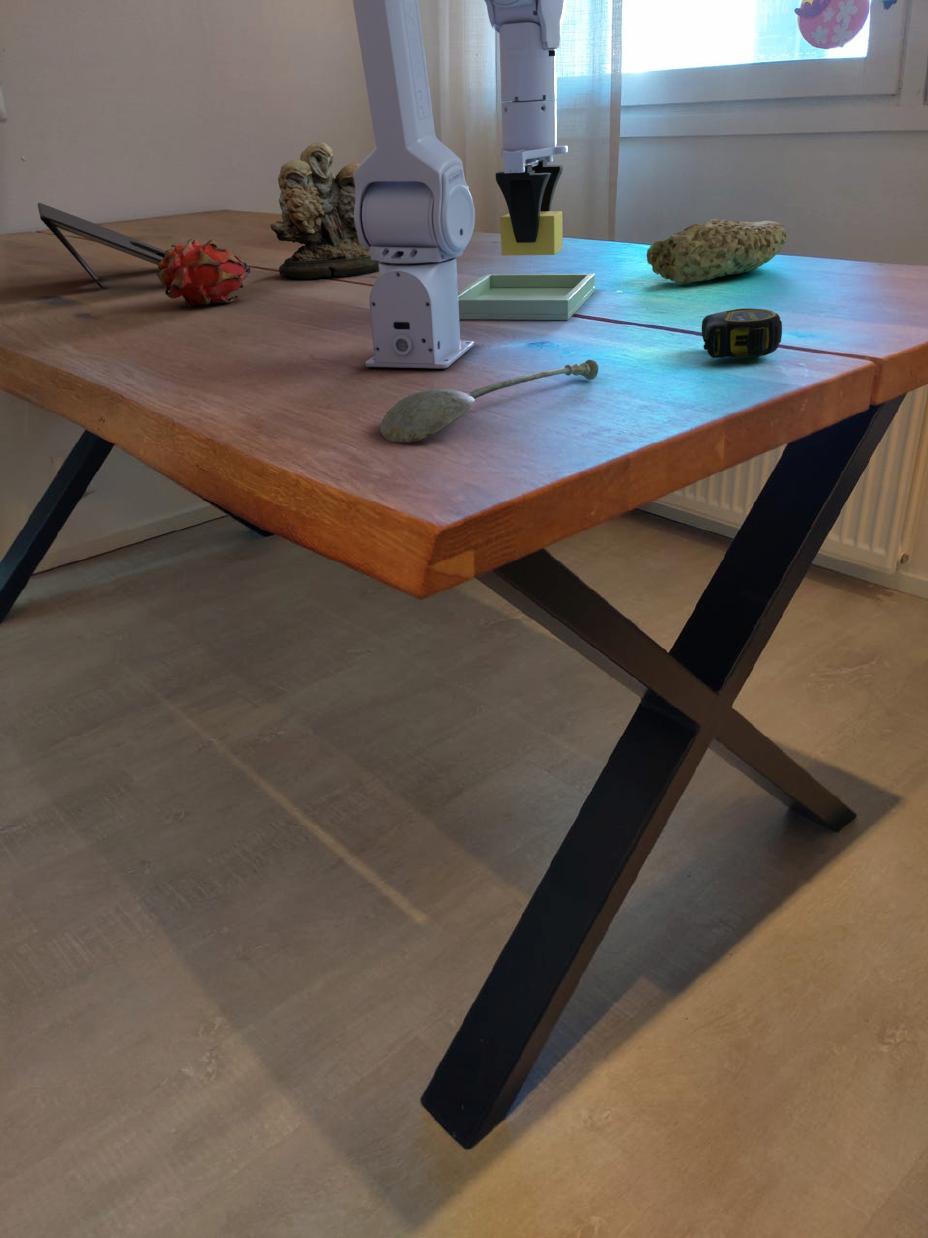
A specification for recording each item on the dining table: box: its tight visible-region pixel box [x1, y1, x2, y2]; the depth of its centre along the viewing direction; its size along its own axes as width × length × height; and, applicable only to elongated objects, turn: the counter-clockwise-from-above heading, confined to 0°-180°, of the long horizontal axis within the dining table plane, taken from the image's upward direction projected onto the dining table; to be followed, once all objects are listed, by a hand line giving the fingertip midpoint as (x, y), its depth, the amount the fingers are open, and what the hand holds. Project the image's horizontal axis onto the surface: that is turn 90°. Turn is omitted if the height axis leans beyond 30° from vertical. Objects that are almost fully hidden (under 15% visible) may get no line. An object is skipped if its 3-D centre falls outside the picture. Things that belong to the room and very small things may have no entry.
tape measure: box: [701, 307, 783, 359], centre depth 89 cm, size 7×7×4 cm
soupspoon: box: [379, 359, 599, 444], centre depth 79 cm, size 22×3×7 cm
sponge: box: [646, 218, 787, 285], centre depth 126 cm, size 13×8×20 cm
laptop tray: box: [37, 202, 166, 289], centre depth 146 cm, size 23×23×9 cm
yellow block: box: [499, 210, 564, 257], centre depth 111 cm, size 4×6×4 cm
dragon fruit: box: [156, 238, 251, 308], centre depth 126 cm, size 8×8×12 cm
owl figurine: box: [269, 141, 379, 280], centre depth 142 cm, size 18×12×17 cm, turn 125°
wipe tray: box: [458, 273, 596, 321], centre depth 116 cm, size 17×14×2 cm
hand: (531, 238), depth 111 cm, fingers closed on yellow block, 4 cm apart
